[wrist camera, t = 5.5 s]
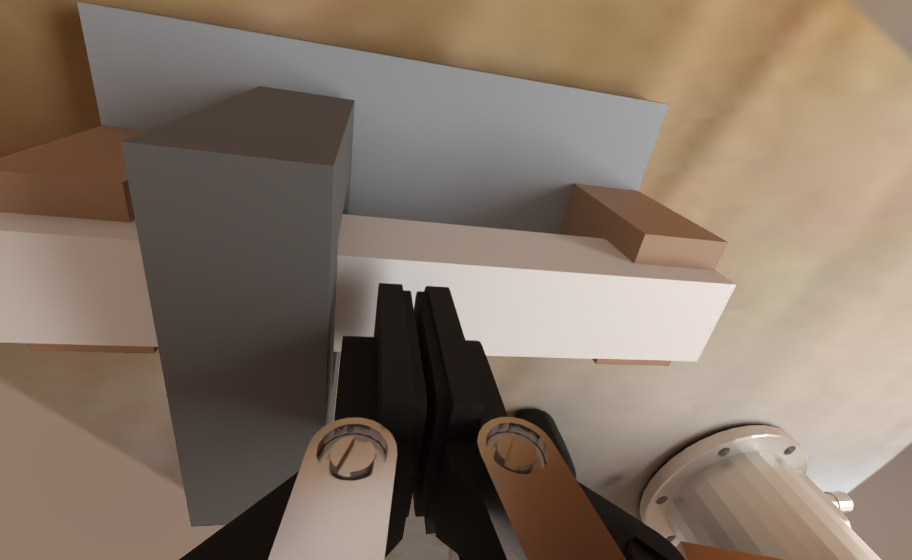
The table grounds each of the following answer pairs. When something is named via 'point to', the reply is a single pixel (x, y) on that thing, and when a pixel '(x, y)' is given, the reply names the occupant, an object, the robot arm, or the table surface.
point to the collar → (244, 283)
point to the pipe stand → (377, 200)
